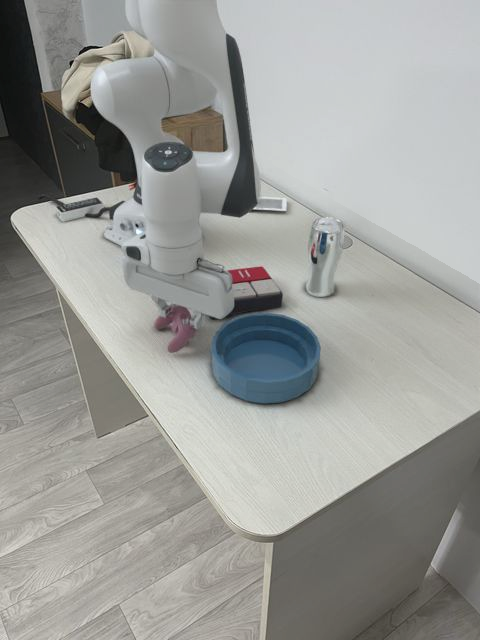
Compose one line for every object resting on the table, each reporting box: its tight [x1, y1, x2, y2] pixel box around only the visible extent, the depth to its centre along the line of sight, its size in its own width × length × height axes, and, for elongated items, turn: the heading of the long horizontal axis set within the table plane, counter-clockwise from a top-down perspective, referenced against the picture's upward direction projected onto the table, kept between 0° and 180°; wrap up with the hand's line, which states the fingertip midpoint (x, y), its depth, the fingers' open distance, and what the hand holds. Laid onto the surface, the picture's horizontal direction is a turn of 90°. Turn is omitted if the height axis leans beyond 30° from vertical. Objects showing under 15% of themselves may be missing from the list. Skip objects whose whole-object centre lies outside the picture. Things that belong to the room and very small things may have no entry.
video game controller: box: [153, 303, 197, 354], centre depth 98 cm, size 10×5×7 cm, turn 25°
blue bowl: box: [211, 312, 322, 404], centre depth 93 cm, size 18×18×5 cm
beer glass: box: [305, 216, 346, 298], centre depth 110 cm, size 7×7×15 cm
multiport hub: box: [54, 197, 105, 223], centre depth 136 cm, size 4×11×2 cm, turn 125°
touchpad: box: [252, 196, 288, 212], centre depth 143 cm, size 8×15×2 cm, turn 88°
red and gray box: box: [208, 265, 284, 320], centre depth 109 cm, size 11×4×15 cm
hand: (180, 321), depth 95 cm, fingers closed on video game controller, 5 cm apart
